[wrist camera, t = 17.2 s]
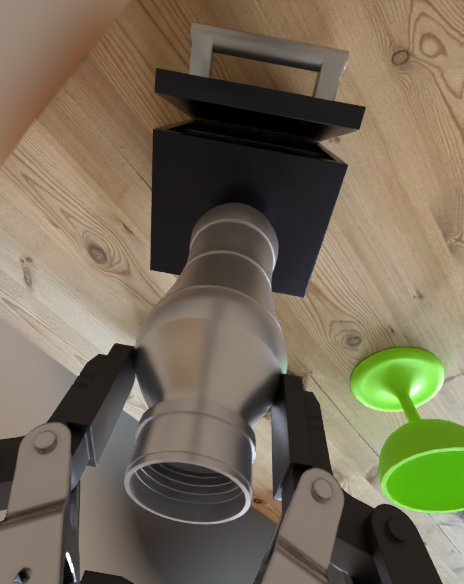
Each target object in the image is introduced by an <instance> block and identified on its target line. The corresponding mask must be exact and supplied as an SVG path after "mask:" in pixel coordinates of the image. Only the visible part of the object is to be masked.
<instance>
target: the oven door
mask: <svg viewBox="0 0 464 584" xmlns="http://www.w3.org/2000/svg"><path fill="white" fill-rule="evenodd" d="M190 46H191V56H190V66H189V74H186V73H181V72H175V71H170V70H165V69H159V68H156V77H155V93H156V94H158V95H159V96H161V97H162V98H164V99H165V100H167V101H168V102H169V103H171V104H172V105H174V106H175V107H177V108H178V109H179V110H181V111H182V112H184V113H185V114H187V115H188V116H189V117H192V118H197V119H202V120H208V121H213V122H219V123H224V124H229V125H235V126H240V127H246V128H251V129H256V130H262V131H267V132H273V133H278V134H284V135H289V136H294V137H300V138H305V139H311V140H316V141H324V140H327V139H330V138H334V137H337V136H341V135H344V134H347V133H351V132H354V131H358V130H359V129H360V125H361V122H362V119H363V115H364V112H365V108H366V107H364V106H358V105H353V104H347V103H342V102H337V101H334V99H335V95H336V92H337V88H338V84H339V80H340V76H341V75H342V74H343V72H344V69H345V67H346V63H347V60H348V51H344V50H339V49H334V48H328V47H323V46H318V45H312V44H307V43H302V42H296V41H291V40H286V39H280V38H275V37H270V36H264V35H259V34H254V33H248V32H243V31H238V30H232V29H227V28H222V27H216V26H211V25H206V24H200V23H195V22H192V24H191V29H190ZM214 53H219V54H224V55H230V56H235V57H241V58H246V59H251V60H257V61H262V62H267V63H273V64H278V65H283V66H289V67H294V68H300V69H305V70H310V71H316V72H318V74H317V78H316V82H315V87H314V91H313V95H312V97H310V96H304V95H299V94H294V93H288V92H283V91H278V90H272V89H267V88H261V87H256V86H251V85H245V84H240V83H234V82H229V81H224V80H218V79H213V78H211V77H212V69H213V61H214Z"/></svg>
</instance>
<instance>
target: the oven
mask: <svg viewBox="0 0 464 584" xmlns="http://www.w3.org/2000/svg"><path fill="white" fill-rule="evenodd" d="M347 167H348V164H346V163H345V162H344V161H342V160H341V159H340V158H338V157H337V156H336V155H334V154H333V153H332V152H330V151H329V150H328V149H326V148H325V147H324V146H322V145H321V144H319V143H314V142H309V141H303V140H298V139H292V138H287V137H282V136H276V135H271V134H265V133H260V132H254V131H249V130H244V129H238V128H233V127H227V126H222V125H217V124H211V123H206V122H200V121H195V120H188V121H184V122H179V123H175V124H171V125H167V126H163V127H159V128H155V129H153V159H152V210H151V260H150V270H154V271H159V272H165V273H170V274H176V275H180V274H181V273H182V271H183V269H184V268H185V266H186V263H187V260H188V256H189V253H190V247H189V246H190V241H191V236H192V231H193V229H194V227H195V224H196V223H197V222H198V220H199V219H200V218H201V217H202V216H203V215H204V214H205V213H207V212H208V211H209V210H211V209H213V208H215V207H216V206H218V205H222V204H225V203H242V204H245V205H249V206H251V207H253V208H255V209H257V210H258V211H259V212H261V213H262V214H263V215H264V216H265V217H266V218H267V220H268V221H269V222H270V224H271V226H272V227H273V229H274V231H275V233H276V236H277V240H278V256H277V261H276V265H275V267H274V270H273V272H272V279H271V290H272V292H275V293H281V294H286V295H292V296H297V297H303V298H304V296H305V293H306V290H307V287H308V284H309V281H310V278H311V275H312V272H313V269H314V266H315V263H316V260H317V257H318V254H319V251H320V248H321V245H322V242H323V239H324V236H325V233H326V230H327V227H328V224H329V221H330V218H331V215H332V212H333V209H334V206H335V203H336V200H337V197H338V194H339V191H340V188H341V185H342V182H343V179H344V176H345V173H346V170H347Z"/></svg>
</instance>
